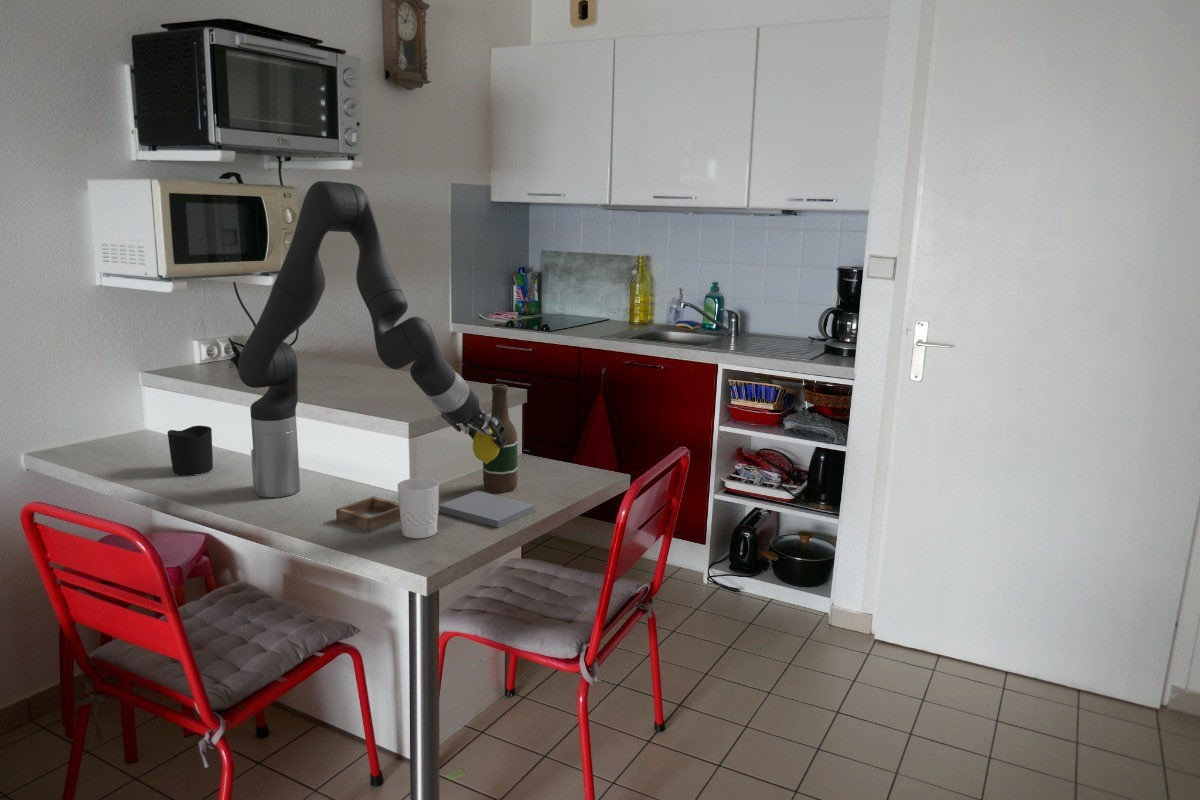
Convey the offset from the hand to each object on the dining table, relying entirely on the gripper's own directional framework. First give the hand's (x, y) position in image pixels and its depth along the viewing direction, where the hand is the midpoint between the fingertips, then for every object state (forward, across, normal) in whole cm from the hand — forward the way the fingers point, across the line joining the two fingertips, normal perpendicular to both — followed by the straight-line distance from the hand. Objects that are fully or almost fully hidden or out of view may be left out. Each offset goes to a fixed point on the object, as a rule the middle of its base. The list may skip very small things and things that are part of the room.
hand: (491, 442), depth 183 cm
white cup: (-2, +3, +24) cm, 24 cm away
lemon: (+2, 0, +4) cm, 5 cm away
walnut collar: (-3, +16, +24) cm, 29 cm away
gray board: (+9, 0, +12) cm, 15 cm away
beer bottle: (+19, +8, +2) cm, 21 cm away
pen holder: (-4, +75, +25) cm, 79 cm away
